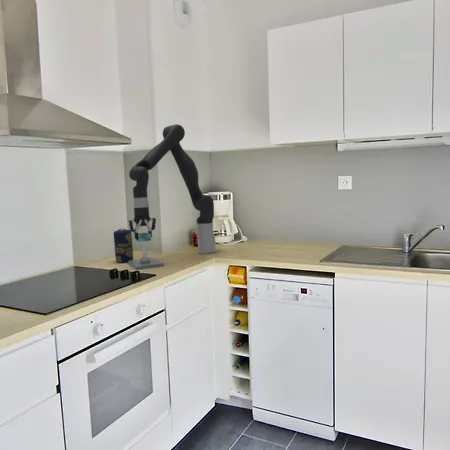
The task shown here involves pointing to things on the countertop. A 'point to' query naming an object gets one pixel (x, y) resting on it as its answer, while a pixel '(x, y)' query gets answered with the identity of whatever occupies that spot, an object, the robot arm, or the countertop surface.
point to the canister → (123, 245)
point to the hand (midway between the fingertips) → (143, 238)
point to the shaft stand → (145, 261)
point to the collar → (144, 237)
